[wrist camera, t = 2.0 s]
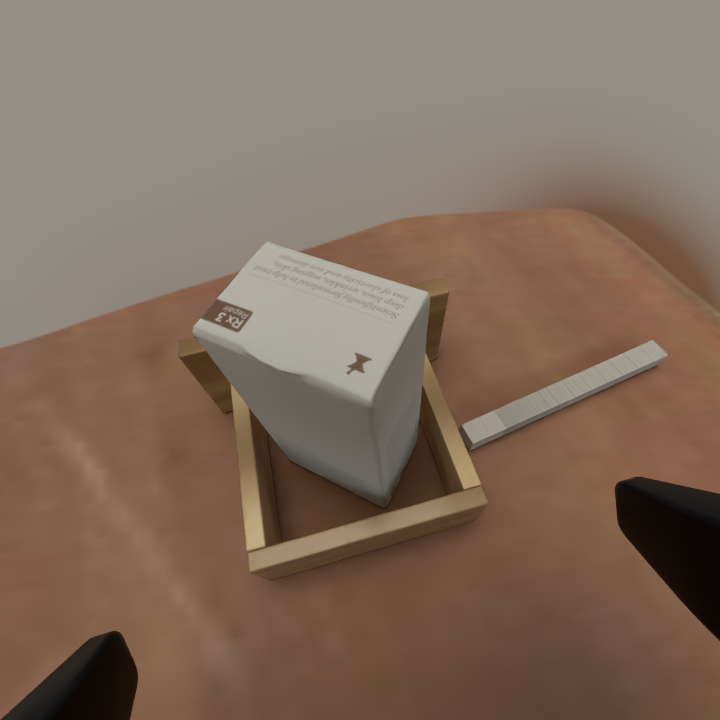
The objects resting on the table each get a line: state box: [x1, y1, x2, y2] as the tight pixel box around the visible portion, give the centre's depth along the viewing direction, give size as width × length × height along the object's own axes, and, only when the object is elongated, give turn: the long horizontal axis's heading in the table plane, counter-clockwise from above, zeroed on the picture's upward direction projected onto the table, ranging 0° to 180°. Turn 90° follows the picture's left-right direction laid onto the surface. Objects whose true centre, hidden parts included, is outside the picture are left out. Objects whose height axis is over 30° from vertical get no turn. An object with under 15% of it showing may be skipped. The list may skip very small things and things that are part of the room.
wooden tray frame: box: [179, 279, 488, 580], centre depth 19 cm, size 10×13×6 cm
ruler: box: [459, 340, 669, 451], centre depth 22 cm, size 12×1×1 cm, turn 113°
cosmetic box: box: [193, 242, 430, 508], centre depth 17 cm, size 6×4×12 cm
